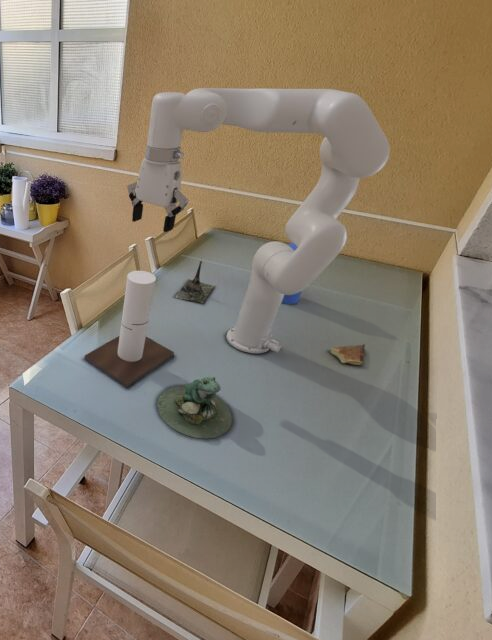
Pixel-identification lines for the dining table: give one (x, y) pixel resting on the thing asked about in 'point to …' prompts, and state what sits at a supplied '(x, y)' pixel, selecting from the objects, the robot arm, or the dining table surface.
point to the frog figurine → (195, 409)
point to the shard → (349, 354)
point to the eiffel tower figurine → (195, 289)
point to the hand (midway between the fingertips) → (151, 225)
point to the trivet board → (126, 370)
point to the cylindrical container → (135, 315)
